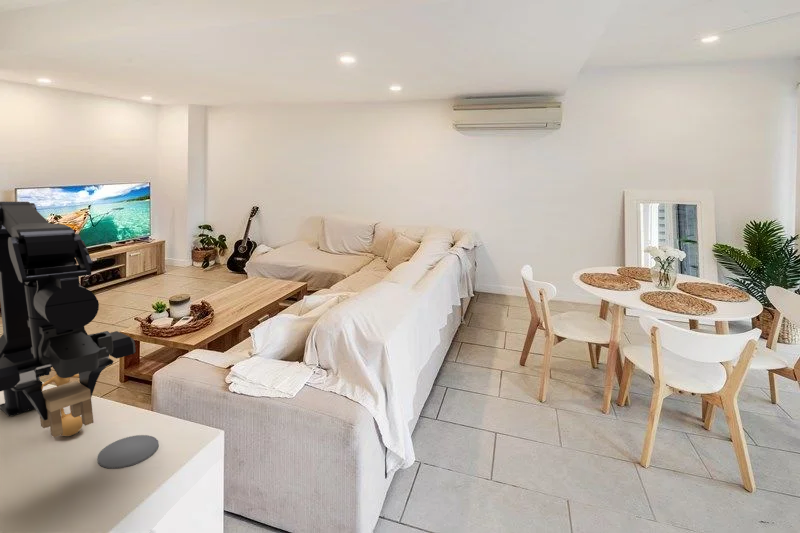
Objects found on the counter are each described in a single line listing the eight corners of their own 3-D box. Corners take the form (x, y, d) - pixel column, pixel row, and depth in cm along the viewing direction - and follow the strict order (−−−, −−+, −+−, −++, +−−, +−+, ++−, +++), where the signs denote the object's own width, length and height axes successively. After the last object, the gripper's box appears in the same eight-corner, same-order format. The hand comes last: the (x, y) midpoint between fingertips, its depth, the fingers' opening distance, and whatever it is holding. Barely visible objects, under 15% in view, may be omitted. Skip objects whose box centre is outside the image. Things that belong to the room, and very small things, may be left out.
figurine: (43, 448, 74) (35, 384, 72) (38, 434, 78) (30, 373, 76) (100, 429, 80) (94, 370, 78) (92, 417, 84) (86, 361, 82)
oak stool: (41, 426, 64) (36, 392, 63) (79, 412, 68) (76, 380, 67) (54, 437, 61) (49, 402, 61) (93, 422, 66) (90, 389, 65)
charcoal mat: (88, 455, 73) (87, 453, 73) (142, 431, 80) (142, 429, 80) (112, 475, 68) (112, 473, 68) (168, 448, 76) (168, 446, 75)
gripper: (-16, 343, 50) (2, 463, 53) (149, 309, 65) (156, 403, 68) (-42, 325, 56) (-25, 433, 59) (115, 297, 71) (123, 384, 74)
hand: (66, 412), depth 65 cm, fingers closed on oak stool, 5 cm apart
